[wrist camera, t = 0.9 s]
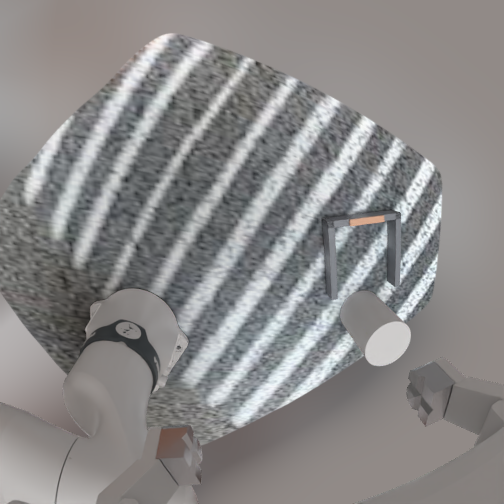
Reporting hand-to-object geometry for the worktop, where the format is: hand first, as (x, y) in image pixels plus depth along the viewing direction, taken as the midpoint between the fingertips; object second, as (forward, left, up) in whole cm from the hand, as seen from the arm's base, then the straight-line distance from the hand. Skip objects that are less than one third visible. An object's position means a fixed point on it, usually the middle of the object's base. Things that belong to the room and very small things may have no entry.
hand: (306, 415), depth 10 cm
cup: (-8, -26, -40) cm, 48 cm away
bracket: (+2, -21, -39) cm, 44 cm away
